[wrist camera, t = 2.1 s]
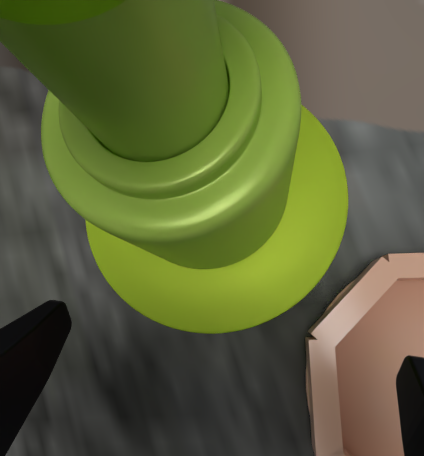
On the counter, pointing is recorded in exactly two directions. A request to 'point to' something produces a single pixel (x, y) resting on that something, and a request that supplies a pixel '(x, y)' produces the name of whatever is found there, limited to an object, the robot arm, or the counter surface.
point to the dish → (365, 358)
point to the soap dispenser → (184, 154)
